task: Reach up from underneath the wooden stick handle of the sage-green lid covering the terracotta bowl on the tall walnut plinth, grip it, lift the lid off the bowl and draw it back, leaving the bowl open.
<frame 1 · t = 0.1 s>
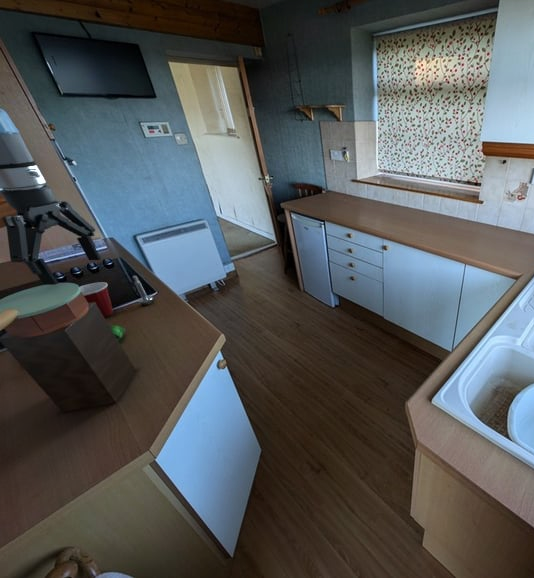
hand: (75, 271, 76), 32 cm above the worktop, tool pointing down, fingers open, 13 cm apart
plinth: (101, 389, 82), on the worktop
plastic cup: (104, 314, 112), on the worktop
screw: (147, 303, 119), on the worktop
lid: (37, 301, 67), point 30 cm above the worktop, touching plinth
snack package: (98, 345, 98), on the worktop
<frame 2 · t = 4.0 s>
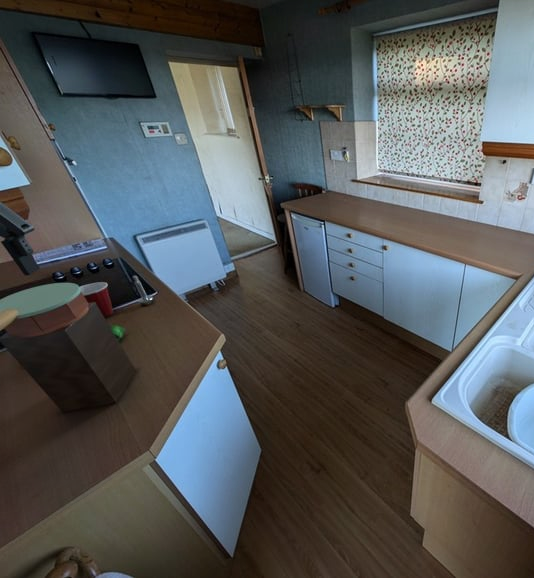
nothing on the worktop moved.
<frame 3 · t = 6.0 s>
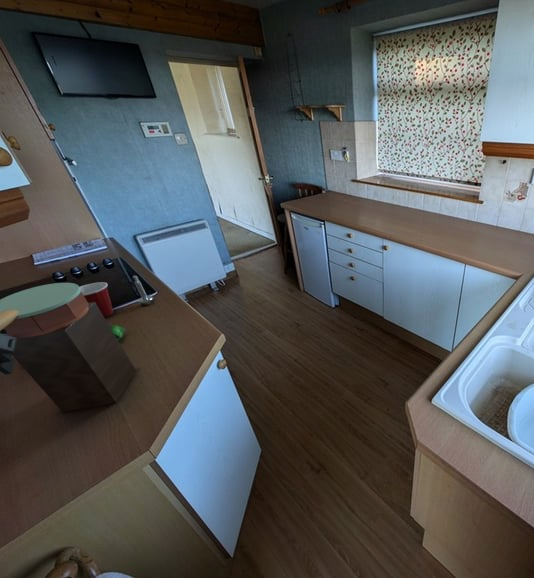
nothing on the worktop moved.
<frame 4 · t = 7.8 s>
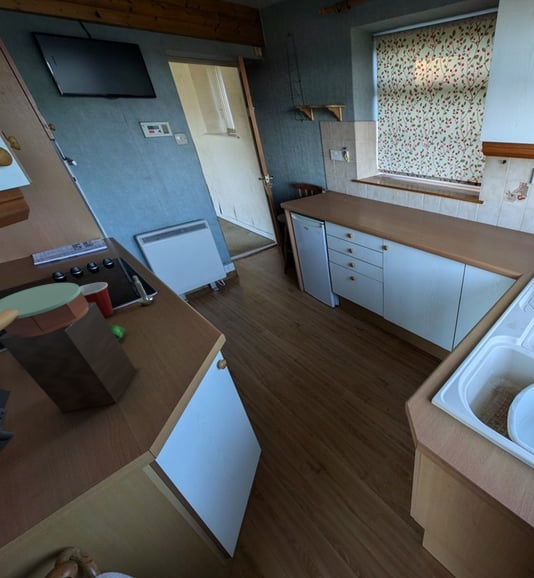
nothing on the worktop moved.
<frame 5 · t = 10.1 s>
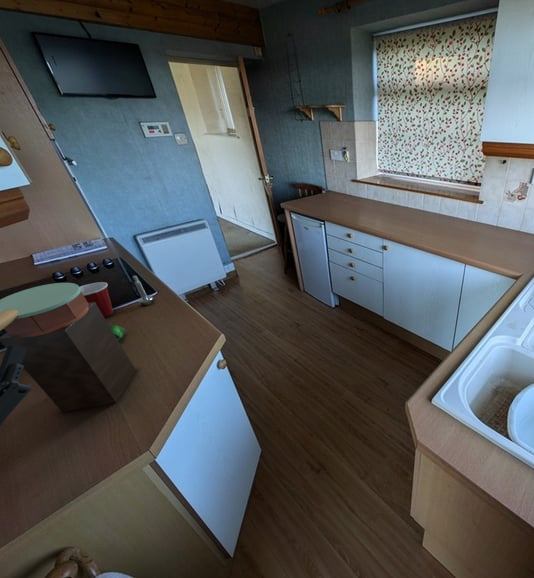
nothing on the worktop moved.
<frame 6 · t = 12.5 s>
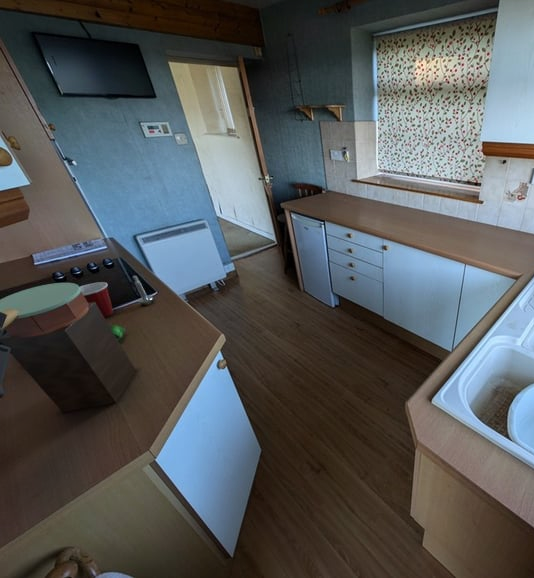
lid: (38, 301, 67), point 30 cm above the worktop, touching gripper, plinth
everything else where it was.
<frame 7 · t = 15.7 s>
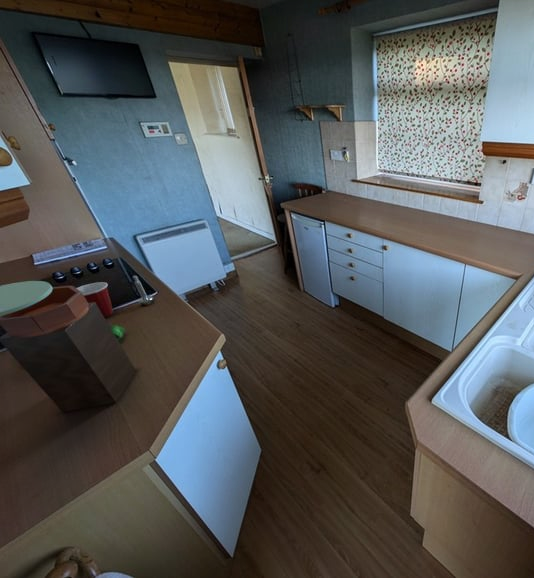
lid: (2, 301, 59), point 34 cm above the worktop, touching gripper
everything else where it was.
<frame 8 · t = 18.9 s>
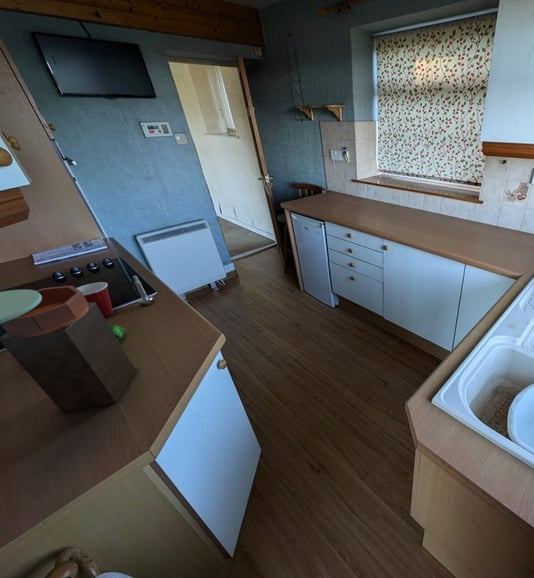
at the end: the gripper is holding lid; lid moved 10.8 cm from its start; lid point 34.1 cm above the worktop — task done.
